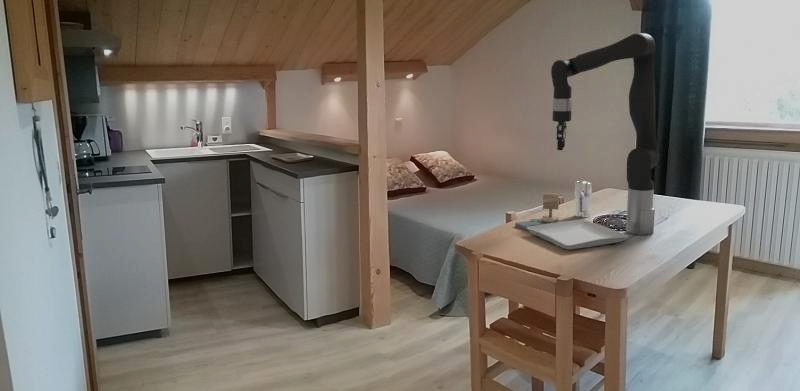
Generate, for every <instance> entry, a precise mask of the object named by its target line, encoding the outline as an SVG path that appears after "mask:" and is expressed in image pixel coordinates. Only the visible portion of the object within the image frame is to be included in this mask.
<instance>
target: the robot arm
mask: <svg viewBox="0 0 800 391" xmlns="http://www.w3.org/2000/svg"><path fill="white" fill-rule="evenodd" d="M655 53H656V42H655V40H654V38H653V36H651V35H650V34H648V33H645V32H644V33H643V32H642V33H641V32H636V33H632V34H630V35H629V36H627V37H624V38H622V39H621V40H619V41H616V42H614V43H612V44H610V45H609V44H608V45H607V46H604V47H600V48H597V49H593V50H590V51H585V52H584V53H581V54H580V53H579V54H577V55H576V56H574V57H571V58H568V59H559V60H556V61H554V62H553V63H552V66H551V68H550V76H551V81H552V85H553V100H552V117H551V118H552V122H554V123H555V122H557V123H558V124H557V125H556V128H555V129H556V141H557V142H556V144H557V145H556V149H557V151H563V150H564V148H565V144H566V141H565V140H566V138H567V137H566V136H567V129H568V125H567V123H568V122H571V121H572V110H573V109H572V104H573V102H572V84H569V82H568V78H570V77H574V76H577V75H578V74H580V73H584V72H588V71H592V70H594V69H598V68H600V67H603V66H605V65H608V64H609V63H612V62H615V61H619V60H628V59H633V76H632V80H631V84H630V87H629V94H628V109H629V112H628V113H629V115H630V120H631V121H632V124H633V127H634V130H635V133H636V147H635V148H633V149H631V150H630V152H629V153H628V154H627V155H628V156H627V158H626V182H627V185H628V186H627V204H626V222H625V223H626V227H625V231H626V232H627V233H629V234H633V235H639V236H645V235H650V234H654V231H655V230H654V227H655V215H656V214H655V212H656V209H655V208H654V193H655V190H654V189H655V182H654V181H653V180H652V178H651V177H652V169H653V168H655V167H656V166H657V164H658V162H659V158H660V157H659V148H658V142H657V141H658V140H657V133H656V94H655V93H656V92H655V88H656V87H655V74H654V72H655V71H654V70H655V69H654V68H655V57H656V56H655V55H656V54H655Z"/></svg>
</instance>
